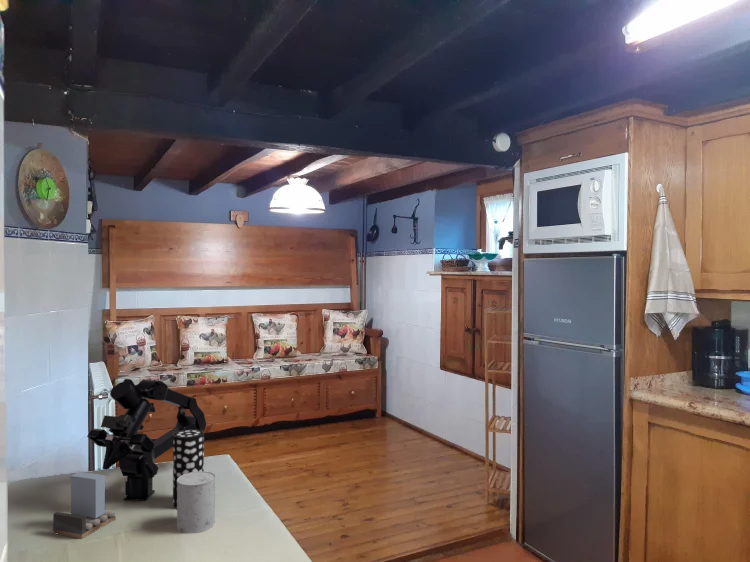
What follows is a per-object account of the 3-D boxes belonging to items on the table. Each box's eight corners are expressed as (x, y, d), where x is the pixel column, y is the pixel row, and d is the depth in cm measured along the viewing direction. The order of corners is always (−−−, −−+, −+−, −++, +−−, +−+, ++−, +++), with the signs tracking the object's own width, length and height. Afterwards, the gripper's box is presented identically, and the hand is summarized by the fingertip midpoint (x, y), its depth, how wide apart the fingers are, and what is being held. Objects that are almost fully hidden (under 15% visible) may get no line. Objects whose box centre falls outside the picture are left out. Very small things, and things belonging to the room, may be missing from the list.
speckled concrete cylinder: (179, 536, 135) (179, 487, 135) (174, 521, 143) (174, 474, 143) (218, 528, 139) (218, 481, 139) (211, 513, 148) (211, 469, 148)
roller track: (88, 514, 146) (88, 496, 146) (115, 519, 144) (115, 500, 144) (53, 533, 136) (53, 513, 136) (81, 538, 133) (82, 518, 133)
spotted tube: (209, 499, 157) (209, 431, 157) (191, 511, 149) (191, 439, 149) (185, 495, 160) (186, 428, 160) (166, 506, 152) (166, 436, 152)
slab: (80, 509, 143) (80, 471, 143) (104, 513, 141) (104, 475, 141) (70, 514, 140) (70, 475, 140) (95, 518, 138) (95, 479, 138)
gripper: (92, 400, 154) (59, 451, 143) (147, 405, 148) (117, 458, 138) (113, 420, 161) (83, 470, 151) (166, 426, 156) (139, 478, 145)
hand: (104, 469), depth 146 cm, fingers closed
